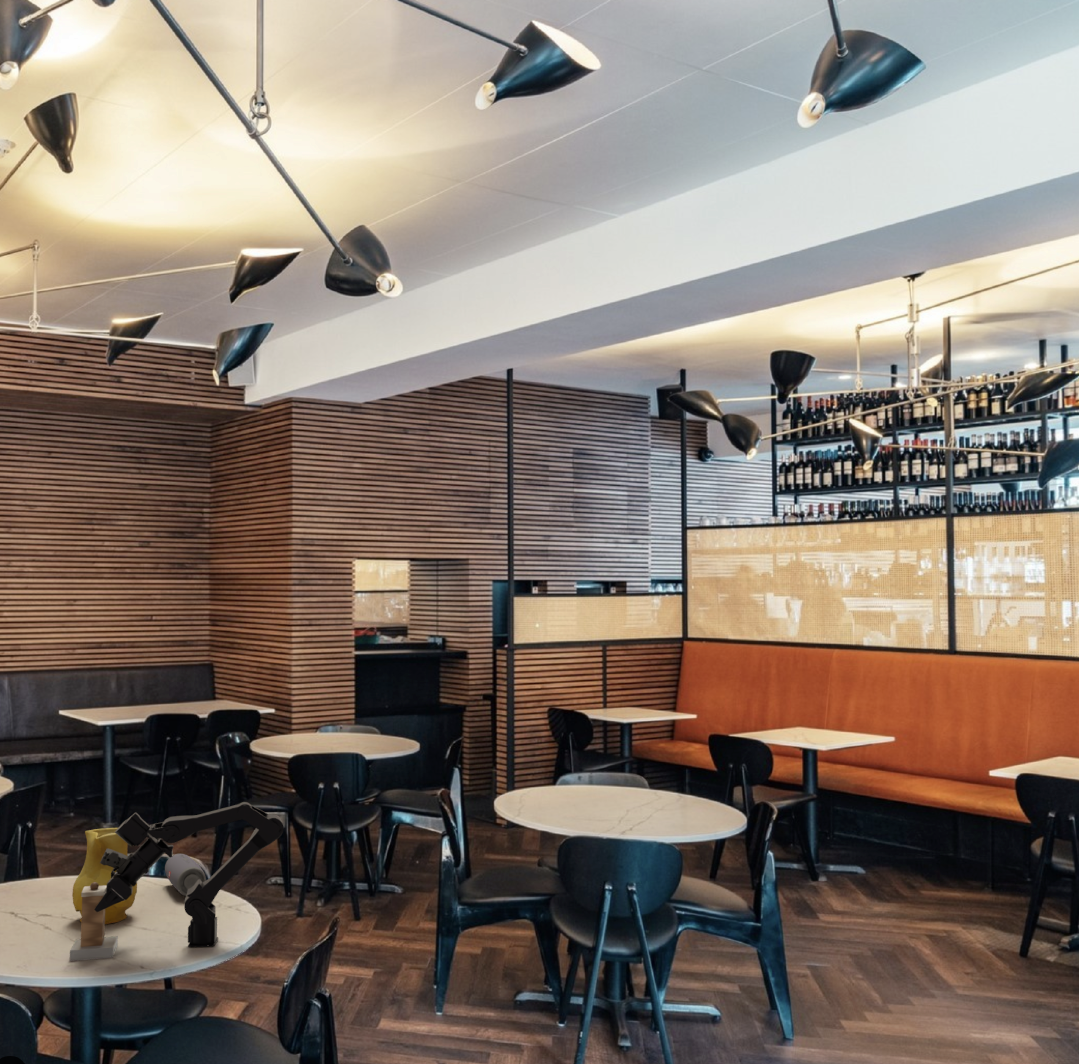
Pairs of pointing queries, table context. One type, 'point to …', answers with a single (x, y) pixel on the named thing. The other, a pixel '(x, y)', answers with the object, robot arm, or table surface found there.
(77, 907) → the pitcher
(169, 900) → the table surface
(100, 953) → the stone block
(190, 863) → the bluetooth speaker
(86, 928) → the box
